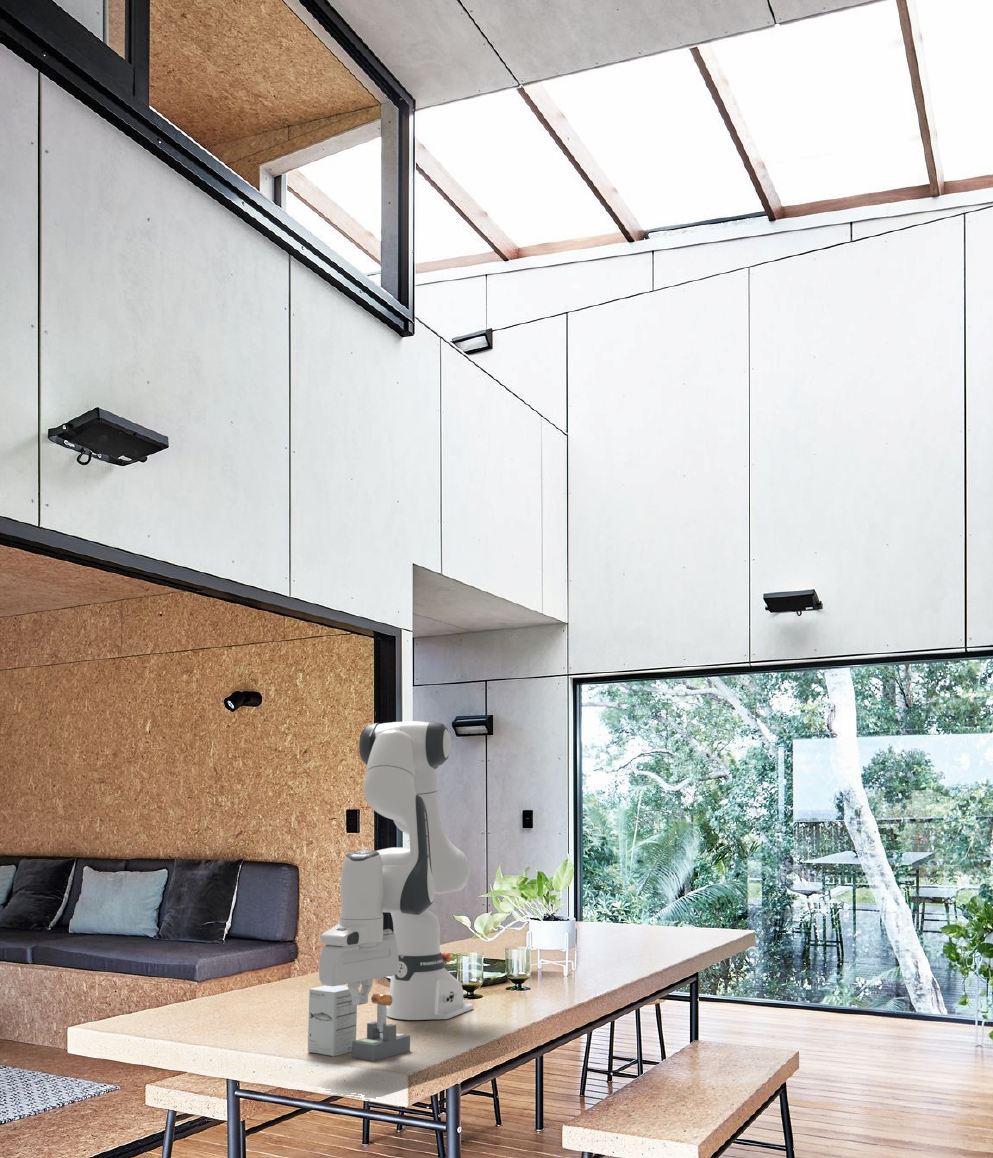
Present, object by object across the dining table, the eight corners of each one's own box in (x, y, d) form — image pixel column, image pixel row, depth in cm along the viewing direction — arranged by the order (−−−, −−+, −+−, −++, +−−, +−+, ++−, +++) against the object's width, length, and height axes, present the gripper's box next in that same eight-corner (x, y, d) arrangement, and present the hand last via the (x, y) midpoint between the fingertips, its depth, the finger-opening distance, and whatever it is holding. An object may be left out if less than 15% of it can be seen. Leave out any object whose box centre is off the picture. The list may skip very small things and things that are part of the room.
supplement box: (306, 1052, 235) (307, 988, 237) (330, 1045, 241) (331, 983, 243) (333, 1057, 231) (334, 991, 233) (357, 1050, 237) (358, 986, 239)
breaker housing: (388, 1046, 239) (388, 1017, 240) (410, 1050, 236) (410, 1021, 237) (351, 1057, 231) (352, 1026, 232) (374, 1061, 227) (374, 1030, 228)
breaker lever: (377, 1031, 236) (377, 992, 237) (392, 1033, 234) (392, 994, 235) (370, 1032, 234) (371, 994, 236) (385, 1035, 232) (386, 995, 233)
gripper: (383, 927, 242) (382, 995, 240) (314, 936, 226) (312, 1009, 224) (406, 928, 239) (405, 998, 236) (337, 938, 223) (336, 1013, 220)
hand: (359, 1004), depth 230 cm, fingers closed
